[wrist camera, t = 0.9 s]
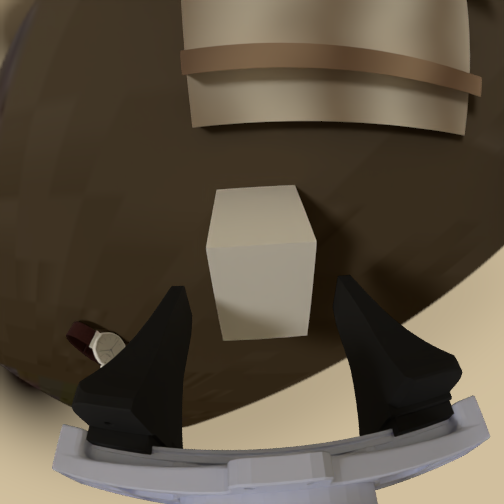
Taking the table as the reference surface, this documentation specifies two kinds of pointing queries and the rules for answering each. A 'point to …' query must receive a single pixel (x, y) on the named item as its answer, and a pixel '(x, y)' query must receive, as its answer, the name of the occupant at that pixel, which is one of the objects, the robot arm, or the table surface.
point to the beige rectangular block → (261, 262)
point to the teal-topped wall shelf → (329, 62)
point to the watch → (95, 343)
